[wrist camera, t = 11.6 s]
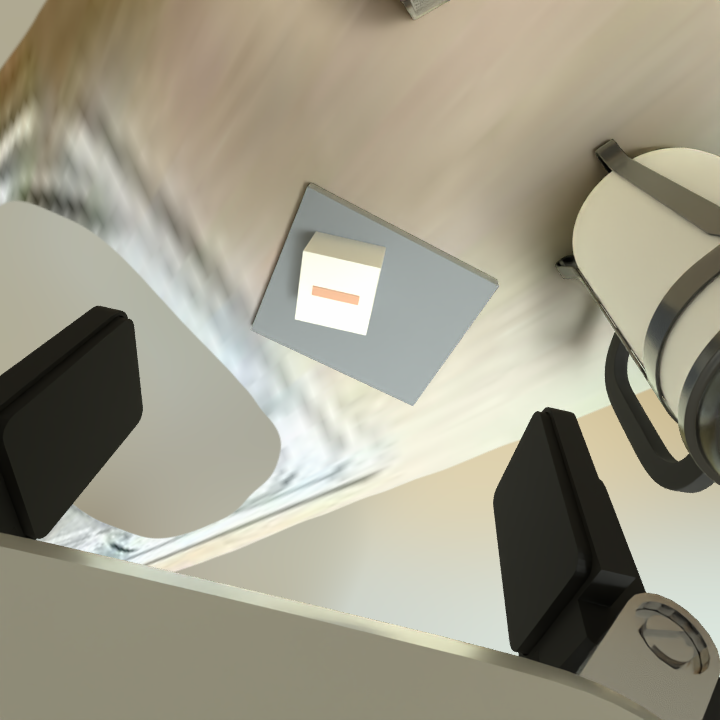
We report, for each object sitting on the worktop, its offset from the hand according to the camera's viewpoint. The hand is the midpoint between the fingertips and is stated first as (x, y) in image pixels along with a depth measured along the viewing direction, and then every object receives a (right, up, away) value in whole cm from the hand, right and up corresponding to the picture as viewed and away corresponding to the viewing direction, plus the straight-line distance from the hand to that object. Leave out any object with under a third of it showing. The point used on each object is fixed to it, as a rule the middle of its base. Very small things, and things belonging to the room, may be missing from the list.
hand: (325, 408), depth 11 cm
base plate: (+2, +7, +36) cm, 37 cm away
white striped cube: (-1, +9, +33) cm, 34 cm away
